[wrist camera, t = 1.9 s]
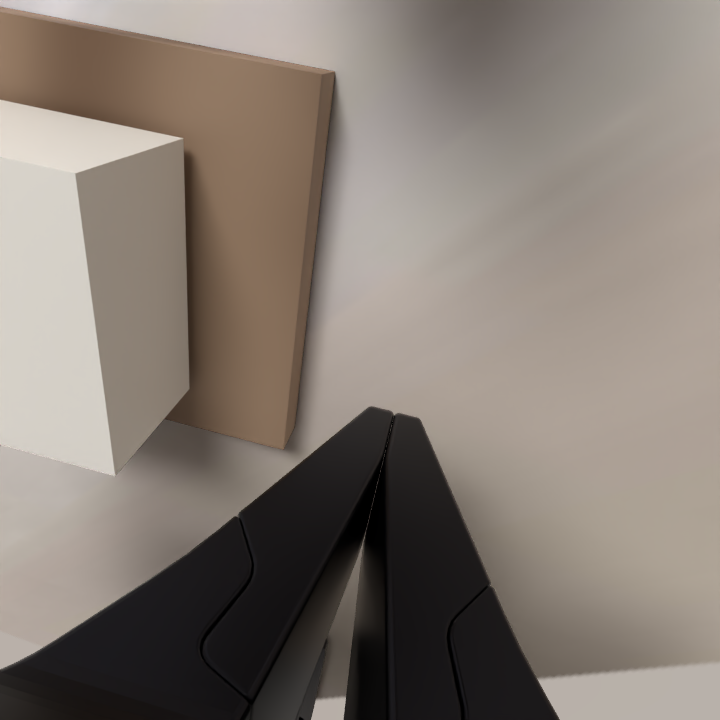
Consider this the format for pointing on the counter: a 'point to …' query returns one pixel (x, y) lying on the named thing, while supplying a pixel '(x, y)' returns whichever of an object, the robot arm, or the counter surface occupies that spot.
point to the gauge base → (208, 193)
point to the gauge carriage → (89, 285)
